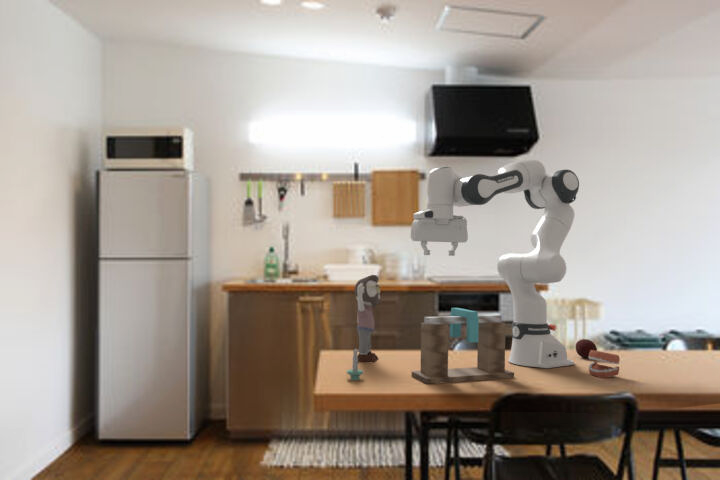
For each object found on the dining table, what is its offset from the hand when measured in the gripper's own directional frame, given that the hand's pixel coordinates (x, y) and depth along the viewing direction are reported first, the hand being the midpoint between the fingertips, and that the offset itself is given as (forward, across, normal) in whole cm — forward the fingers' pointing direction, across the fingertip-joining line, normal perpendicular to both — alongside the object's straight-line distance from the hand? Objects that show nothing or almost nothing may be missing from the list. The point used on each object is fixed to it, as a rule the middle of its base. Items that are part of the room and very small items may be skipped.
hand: (439, 255), depth 174 cm
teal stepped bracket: (+26, 0, +16) cm, 30 cm away
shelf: (+37, 0, +16) cm, 40 cm away
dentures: (+37, -44, +26) cm, 63 cm away
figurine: (+37, +21, -14) cm, 45 cm away
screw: (+37, +33, +10) cm, 51 cm away
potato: (+37, -61, +2) cm, 72 cm away
